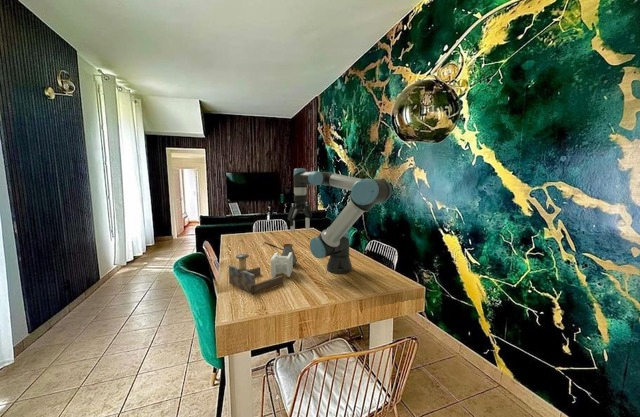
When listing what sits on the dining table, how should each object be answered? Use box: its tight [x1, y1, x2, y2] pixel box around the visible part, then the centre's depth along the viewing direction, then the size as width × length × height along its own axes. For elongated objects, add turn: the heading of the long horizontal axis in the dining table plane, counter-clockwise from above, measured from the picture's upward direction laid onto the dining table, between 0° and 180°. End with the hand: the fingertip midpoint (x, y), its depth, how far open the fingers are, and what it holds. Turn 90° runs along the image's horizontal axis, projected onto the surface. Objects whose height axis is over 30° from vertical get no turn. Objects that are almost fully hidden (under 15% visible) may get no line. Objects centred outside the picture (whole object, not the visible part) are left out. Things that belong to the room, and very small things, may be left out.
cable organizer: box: [269, 252, 294, 279], centre depth 147 cm, size 15×11×12 cm
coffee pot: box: [262, 241, 298, 266], centre depth 165 cm, size 21×12×15 cm, turn 93°
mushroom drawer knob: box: [235, 253, 250, 272], centre depth 151 cm, size 7×7×10 cm
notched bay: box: [228, 264, 284, 295], centre depth 134 cm, size 22×18×9 cm
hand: (300, 229), depth 157 cm, fingers open, 13 cm apart
